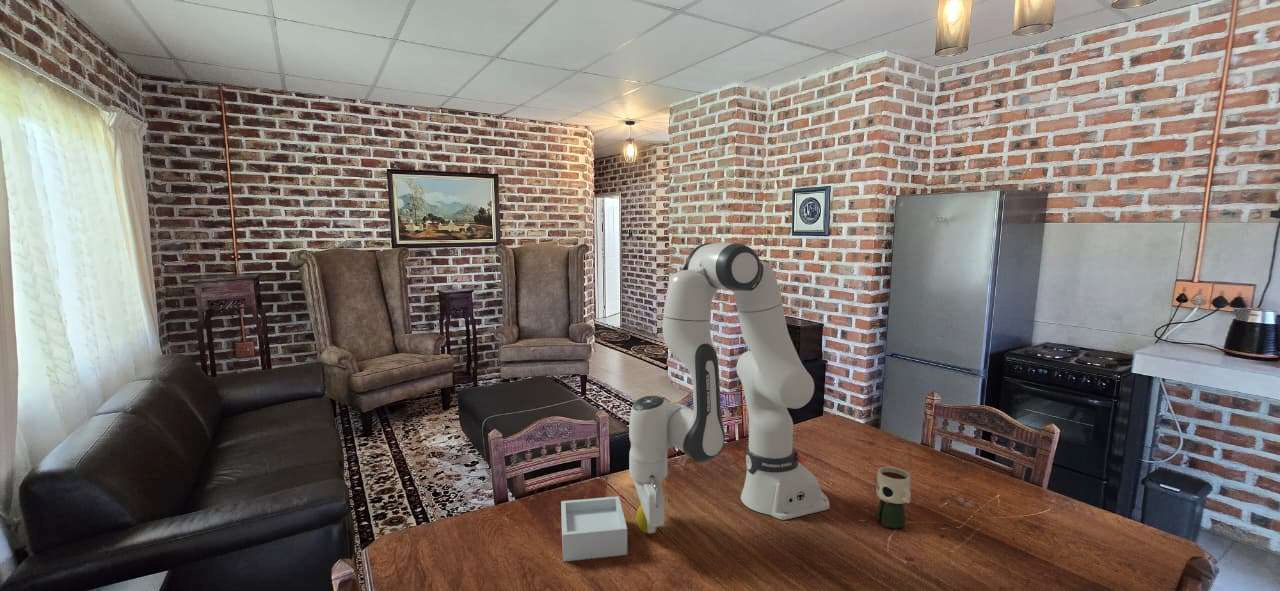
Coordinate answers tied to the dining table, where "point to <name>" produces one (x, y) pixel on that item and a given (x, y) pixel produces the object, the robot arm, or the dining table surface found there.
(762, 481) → the robot arm
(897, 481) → the character mug
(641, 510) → the lemon
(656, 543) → the dining table surface
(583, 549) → the white open box
